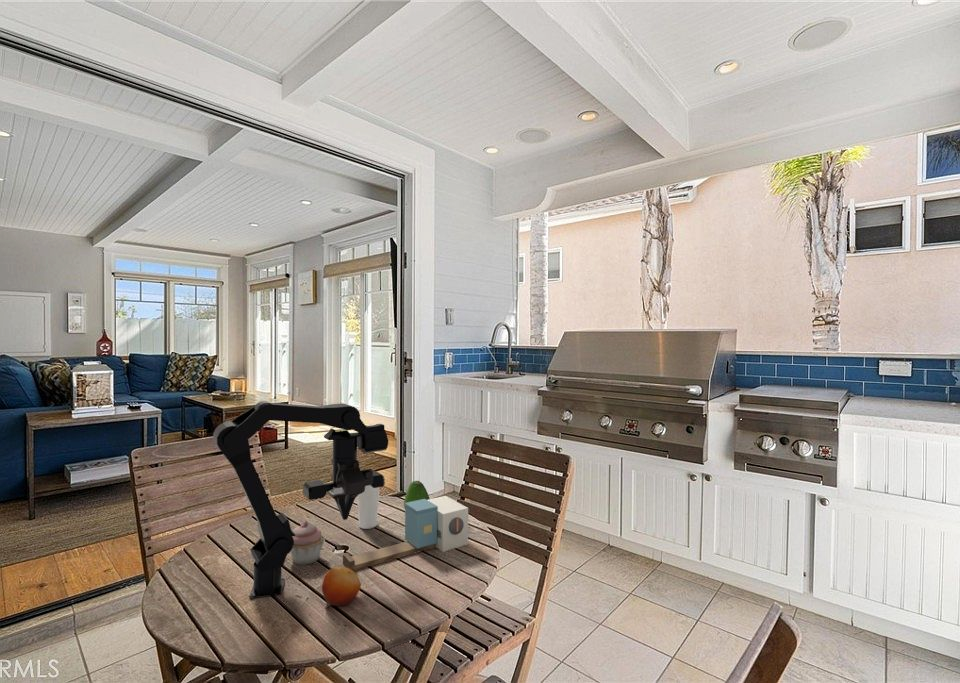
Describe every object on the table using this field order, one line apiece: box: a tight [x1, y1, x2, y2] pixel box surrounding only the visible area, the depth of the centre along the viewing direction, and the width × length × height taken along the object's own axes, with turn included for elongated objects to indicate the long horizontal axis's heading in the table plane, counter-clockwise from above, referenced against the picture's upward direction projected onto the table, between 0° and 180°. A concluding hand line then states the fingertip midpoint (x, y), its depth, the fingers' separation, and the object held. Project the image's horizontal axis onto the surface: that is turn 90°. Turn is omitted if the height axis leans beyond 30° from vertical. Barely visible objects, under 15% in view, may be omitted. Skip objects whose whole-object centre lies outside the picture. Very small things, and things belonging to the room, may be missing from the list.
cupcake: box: [289, 520, 326, 566], centre depth 121 cm, size 9×9×10 cm
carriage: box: [404, 499, 438, 549], centre depth 129 cm, size 6×7×10 cm
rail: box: [342, 540, 437, 571], centre depth 124 cm, size 24×5×2 cm, turn 125°
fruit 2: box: [403, 480, 431, 509], centre depth 149 cm, size 8×8×12 cm
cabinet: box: [428, 495, 469, 553], centre depth 133 cm, size 8×13×10 cm, turn 35°
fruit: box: [321, 566, 362, 610], centre depth 102 cm, size 8×8×8 cm
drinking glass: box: [356, 485, 381, 530], centre depth 143 cm, size 7×7×15 cm
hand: (344, 519), depth 117 cm, fingers closed
